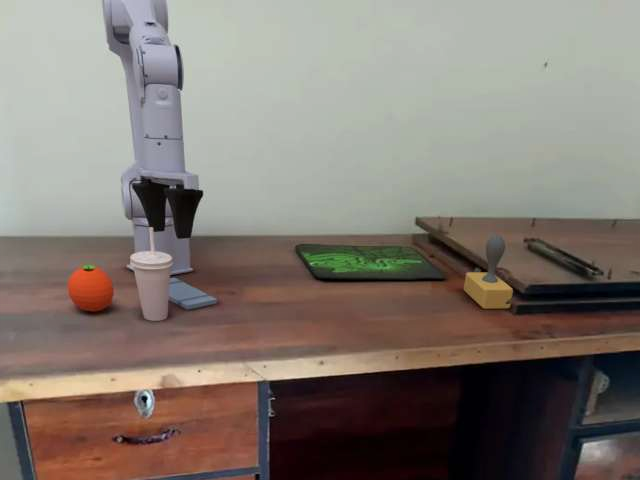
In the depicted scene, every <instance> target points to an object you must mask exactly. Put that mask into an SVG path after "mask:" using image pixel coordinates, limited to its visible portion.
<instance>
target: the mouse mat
mask: <svg viewBox="0 0 640 480" xmlns="http://www.w3.org/2000/svg"><path fill="white" fill-rule="evenodd" d="M294 249H295V251H296V253H297V254H298V255H299V256H300V258H301V259H302V260H303V262H304V263H305V264H306V266H307V267H308V269H309V270H310V272H311V273H312V275H314V277H316V278H318V279H325V280H326V279H327V280H378V281H379V280H381V281H382V280H385V281H387V280H389V281H390V280H399V281H400V280H403V281H405V280H407V281H413V280H414V281H415V280H423V279H424V280H425V279H427V280H428V279H429V280H431V279H432V280H445V279H446V275H445V274H444V273H443V272H442V271H441V270H440V269H438V268H437V267H436V266H435V265H434V264H433V263H432V262H430V261H429V260H428V258H426V257H425V256H424V255H423V254H421V253H420V252H419V250H417V249H416V248H414V247H410V246H400V245H385V246H384V245H383V246H382V245H381V246H380V245H379V246H377V245H375V246H374V245H345V244H336V245H335V244H334V245H333V244H320V243H299V244H297V245H295V246H294Z"/></svg>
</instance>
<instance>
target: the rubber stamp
mask: <svg viewBox="0 0 640 480" xmlns="http://www.w3.org/2000/svg"><path fill="white" fill-rule="evenodd" d="M505 251H506V242H505V238H503V237H502V235H501V236H500V235H499V234H494V235H492V236H490V237H489V238H488V240H487V241H486V245H485V254H486V259H487V266H488V267H487V271H486V272H480V271H479V272H477V271H476V272H475V271H474V272H471V271H470V272H466V273H465V277H464V282H463V283H464V284H463V285H464V286H463V292H465V293H466V294H467V295H468V296H469V297H470V298H471V299H472V300H473V301H474V302H476V303H477V304H478V305H479V306H480V307H481V308H482V309H488V310H489V309H510V308H511V305H512V302H511V303H510V304H506V302H507V301H508V300H509V299H511V298H512V299H513V295H514V290H513V288H512V287H511V286H510V285H509V284H508V283H506V282H505V281H504V280H502V278H500V277H499V276H497V275H496V268H497V266H498V264H499V262H500V261H501V259H502V257H503V255H504V253H505Z"/></svg>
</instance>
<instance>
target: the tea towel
mask: <svg viewBox="0 0 640 480" xmlns="http://www.w3.org/2000/svg"><path fill="white" fill-rule="evenodd" d="M168 301H170V302H172V303H174V304H175V305H178V306H180V307H182V308H183V309H185V310H187V311H189V310H192V309H197V308H198V309H199V308H202V307H207V306H211V305H216V304H218V298H216V297H214V296H212V295H210V294H208V293H206V292H204V291H202V290H201V289H198V288H196V287H194V286H192V285H190V284H188V283H186V282H184V281H183V280H180V279H178V278H176V277H170V284H169V299H168Z"/></svg>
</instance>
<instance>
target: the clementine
mask: <svg viewBox="0 0 640 480" xmlns="http://www.w3.org/2000/svg"><path fill="white" fill-rule="evenodd" d="M67 291H68V296H69V298H70V300H71V302H72V303H73V304H74V305H75V306H77V307H78V308H79V309H81V310H83V311H86V312H91V313H92V312H99V311H103V310H104V309H105V308H107V307H108V306H109V305H110V304H111V303H112V300H113V297H114V295H115V294H114V293H115V288H114V284H113V282H112V279H111V278H110V276H109V275H108V273H106V272H105V271H103V270H102V269H100V268H98V267H95V266H94V265H92V264H85V265H84V266H81V267H79V268H78V269H76V270H75V271H74V272H72V274H71V275H70V277H69V278H68V281H67Z"/></svg>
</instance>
